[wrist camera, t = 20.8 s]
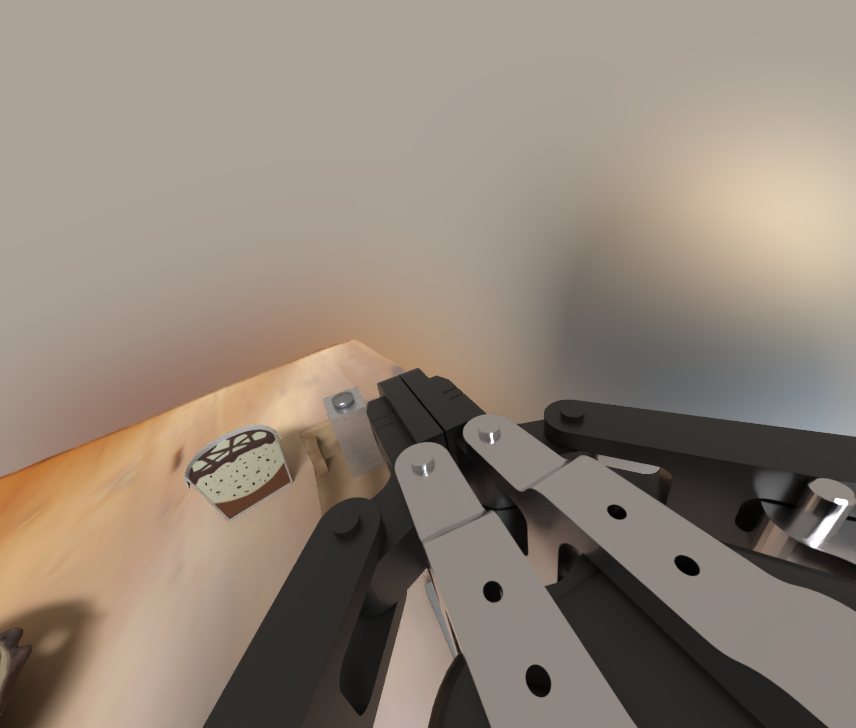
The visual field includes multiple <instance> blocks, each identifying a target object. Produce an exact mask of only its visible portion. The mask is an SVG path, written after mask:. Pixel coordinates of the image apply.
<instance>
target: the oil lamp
mask: <svg viewBox="0 0 856 728" xmlns="http://www.w3.org/2000/svg"><path fill="white" fill-rule="evenodd" d="M22 635H23V629H21V628H14V629H11V630H9V631H6V632H4V633H1V634H0V717H1V715H2V713H3V711H4V709H5V707H6V705H7V703H8V701H9V699H10V696H11V694H12V691H13V688H14V685H15V681H16V679H17V677H18V675H19V673H20V671H21V669H22V667H23V666H24V664H25V662H26V661H27V659H28V658H29V656H30V654H31V651H32V646H31V645H27V646H24V647H18V643H19V641H20V639H21V637H22Z"/></svg>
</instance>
